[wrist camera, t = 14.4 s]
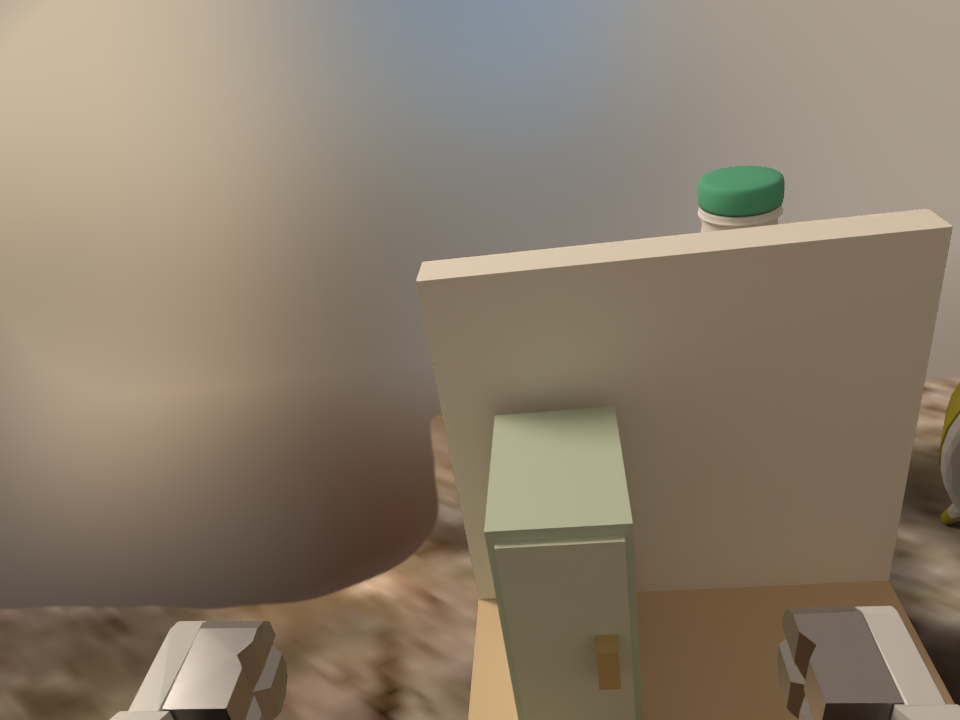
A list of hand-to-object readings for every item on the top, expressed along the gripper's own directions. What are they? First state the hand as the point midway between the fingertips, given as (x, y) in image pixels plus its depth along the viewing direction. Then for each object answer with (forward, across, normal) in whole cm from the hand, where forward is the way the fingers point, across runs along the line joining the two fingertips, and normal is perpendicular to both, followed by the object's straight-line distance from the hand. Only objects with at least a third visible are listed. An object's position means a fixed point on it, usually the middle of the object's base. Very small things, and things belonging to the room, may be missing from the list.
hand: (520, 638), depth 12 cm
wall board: (+14, -6, +24) cm, 28 cm away
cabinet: (+14, -1, +20) cm, 24 cm away
